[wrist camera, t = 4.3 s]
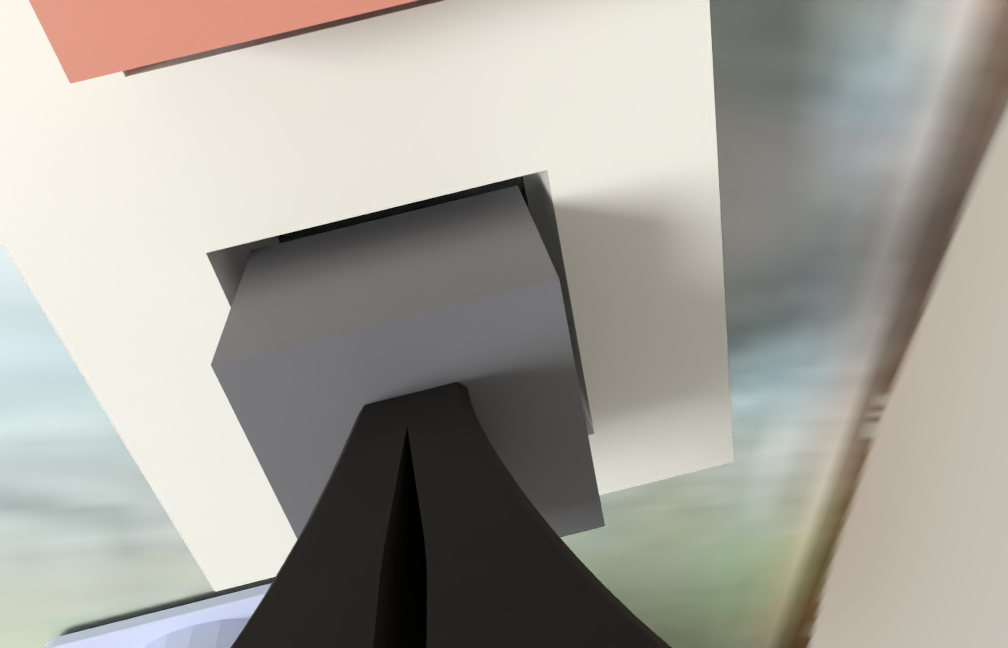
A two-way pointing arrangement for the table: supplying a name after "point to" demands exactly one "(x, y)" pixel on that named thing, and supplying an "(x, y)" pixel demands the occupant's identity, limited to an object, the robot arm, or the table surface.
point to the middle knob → (172, 27)
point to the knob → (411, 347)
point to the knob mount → (365, 189)
